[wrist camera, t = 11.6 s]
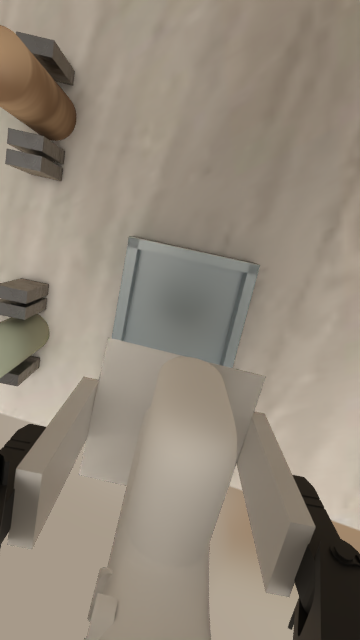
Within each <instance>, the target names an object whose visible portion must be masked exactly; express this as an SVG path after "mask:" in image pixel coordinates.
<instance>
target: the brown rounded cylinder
mask: <svg viewBox="0 0 360 640" xmlns="http://www.w3.org/2000/svg"><path fill="white" fill-rule="evenodd" d="M0 107H2V108H3V109H5V110H6V111H7V112H9V113H10V114H12V115H13V116H14V117H16V118H17V119H19V120H20V121H21V122H23V123H24V124H26V125H27V126H28V127H30V128H31V129H33V130H34V131H36V132H37V133H38V134H40V135H41V136H44V137H46V138H47V139H49V140H53V141H58V140H62V139H65V138H66V137H68V136H69V135H70V134H71V133H72V131H73V129H74V127H75V124H76V110H75V107H74V105H73V103H72V101H71V100H70V99H69V97H68V96H67V95H66V94H65V92H64V91H63V90H62V89H61V88H60V86H59V85H58V84H57V83H56V82H55V80H54V79H53V78H52V77H51V76H50V74H49V73H48V72H47V71H46V70H45V68H44V67H43V66H42V65H41V64H40V62H39V61H38V60H37V59H36V58H35V56H34V55H33V54H32V53H31V52H30V50H29V49H28V48H27V47H26V46H25V44H24V43H23V42H22V41H21V40H20V38H19V37H18V36H17V35H16V34H15V33H14V32H13V31H11V30H10V29H8V28H6V27H4V26H1V25H0Z"/></svg>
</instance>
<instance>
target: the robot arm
mask: <svg viewBox="0 0 360 640" xmlns="http://www.w3.org/2000/svg"><path fill="white" fill-rule="evenodd" d="M98 382H99V380H97V379H92V378H87V377H83V379H82V380H81V381H80V383H79V384H78V385H77V387H76V388H75V389H74V391H73V392H72V393H71V395H70V396H69V398H68V399H67V400H66V402H65V403H64V404H63V406H62V407H61V408H60V410H59V411H58V412H57V414H56V415H55V417H54V418H53V419H52V421H51V422H50V423H49V425H48V426H47V427H44V426H39V425H34V424H28V425H26V426H25V427H23V428H21V429H19V430H18V431H17V432H16V433H15V434H14V435H13V436H12V437H11V439H10V440H9V441H8V442H7V443H6V444H5V446H4V448H2V449H1V450H0V547H1V543H2V542H3V540H4V538H5V537H6V535H7V533H8V532H9V535H8V543H7V545H11V546H17V547H22V548H28V549H33V546H34V544H35V542H36V540H37V538H38V536H39V534H40V532H41V530H42V528H43V526H44V524H45V522H46V520H47V518H48V516H49V514H50V512H51V510H52V508H53V506H54V504H55V502H56V500H57V498H58V496H59V494H60V492H61V490H62V488H63V486H64V484H65V481H66V479H67V478H68V476H69V474H70V471H71V470H72V468H73V465H74V463H75V461H76V459H77V457H78V455H79V453H80V451H81V449H82V447H83V445H84V443H85V441H86V439H87V437H88V432H89V426H90V420H91V415H92V411H93V406H94V401H95V397H96V392H97V387H98ZM237 468H238V472H239V476H240V481H241V485H242V490H243V494H244V498H245V503H246V507H247V512H248V516H249V520H250V525H251V529H252V534H253V538H254V543H255V547H256V552H257V556H258V561H259V565H260V569H261V574H262V578H263V583H264V587H265V591H266V593H270V594H276V595H281V596H286V597H289V596H290V594H291V591H292V588H293V586H294V583H295V585H296V588H297V591H298V594H299V599H298V602H297V604H296V607H295V609H294V612H293V615H292V617H291V620H290V622H289V626H288V628H289V629H292V627H293V625H294V633H293V634H294V635H293V640H360V554H359V552H358V551H357V550H355V549H354V548H353V547H352V546H351V545H350V544H348V543H347V542H345V541H343V540H342V539H340V537H339V535H338V533H337V531H336V529H335V527H334V525H333V524H332V522H331V520H330V518H329V516H328V514H327V512H326V510H325V509H324V506H323V504H322V502H321V500H319V496H318V494H317V492H316V490H315V489H314V487H313V486H312V485H311V484H310V483H309V482H308V481H307V480H306V479H305V478H304V477H300V476H295V475H292V473H291V471H290V469H289V467H288V464H287V462H286V460H285V458H284V455H283V453H282V451H281V449H280V447H279V444H278V442H277V440H276V438H275V436H274V433H273V431H272V429H271V427H270V424H269V422H268V420H267V418H266V416H265V414H263V413H258V412H254V413H253V416H252V418H251V421H250V424H249V428H248V431H247V434H246V437H245V440H244V442H243V445H242V448H241V451H240V454H239V457H238V460H237Z"/></svg>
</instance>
